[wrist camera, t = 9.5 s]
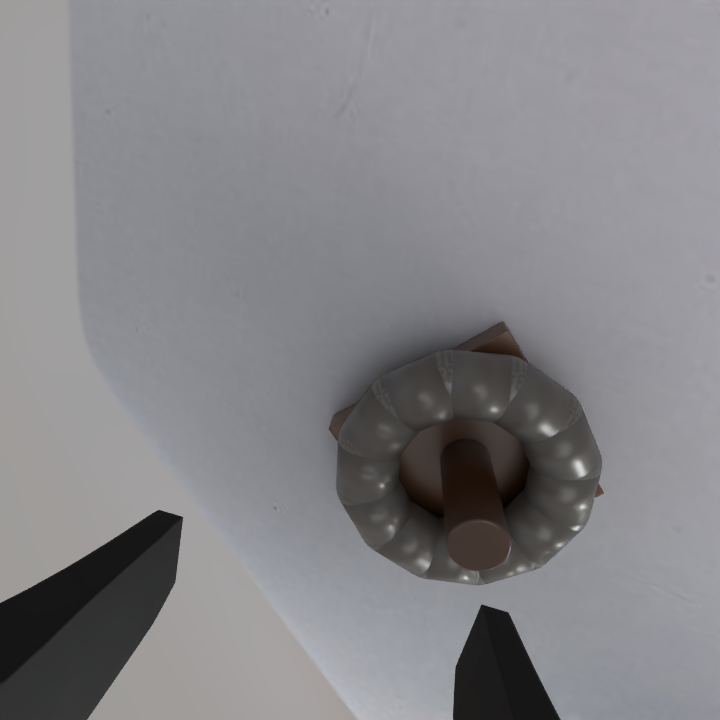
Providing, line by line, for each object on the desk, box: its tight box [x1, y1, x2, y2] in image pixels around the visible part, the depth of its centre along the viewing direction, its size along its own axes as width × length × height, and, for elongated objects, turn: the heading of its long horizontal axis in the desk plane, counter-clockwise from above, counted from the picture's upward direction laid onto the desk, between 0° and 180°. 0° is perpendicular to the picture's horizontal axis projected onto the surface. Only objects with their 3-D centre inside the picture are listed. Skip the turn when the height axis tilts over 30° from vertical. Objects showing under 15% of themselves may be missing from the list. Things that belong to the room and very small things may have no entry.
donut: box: [336, 350, 602, 585], centre depth 20 cm, size 10×10×2 cm
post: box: [329, 322, 604, 571], centre depth 19 cm, size 8×8×6 cm
